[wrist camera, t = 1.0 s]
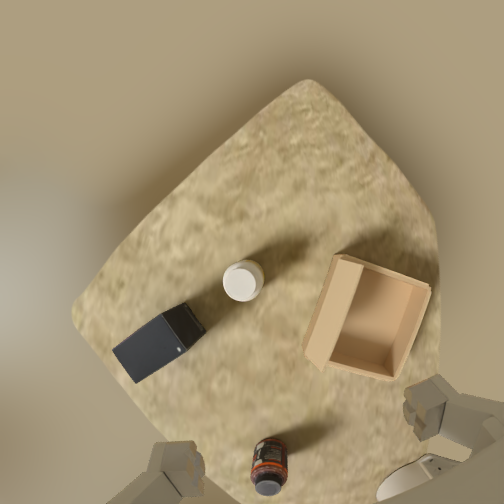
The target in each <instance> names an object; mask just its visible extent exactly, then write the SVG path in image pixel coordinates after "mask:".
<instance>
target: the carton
mask: <svg viewBox="0 0 504 504" xmlns="http://www.w3.org/2000/svg"><path fill="white" fill-rule="evenodd" d="M338 259H342V260H345V261H349V262H353V263H356V264H360V265H363V266H364V267H363V270H362V273H361V276H360V279H359V282H358V285H357V288H356V291H355V294H354V297H353V300H352V302H351V305H350V308H349V311H348V313H347V316H346V319H345V321H344V324H343V327H342V329H341V332H340V334H339V337H338V339H337V342H336V344H335V347H334V349H333V352H332V354H331V357H330V359H329V361H328V364H327V366H330V367H334V368H337V369H341V370H345V371H349V372H352V373H356V374H360V375H364V376H368V377H372V378H376V379H380V380H384V381H389V382H391V381H392V380H393V381H395V380H396V378H398V377H399V375H400V373H401V371H402V368H403V366H404V364H405V362H406V359H407V357H408V355H409V352H410V350H411V347H412V345H413V343H414V340H415V338H416V335H417V332H418V330H419V327H420V325H421V322H422V319H423V316H424V314H425V311H426V308H427V305H428V302H429V299H430V296H431V293H432V292H431V288H432V287H429V284H427V283H424V282H422V281H419V280H416V279H413V278H411V277H408V276H405V275H403V274H400V273H397V272H394V271H392V270H389V269H386V268H383V267H380V266H378V265H375V264H372V263H369V262H366V261H364V260H361V259H358V258H355V257H352V256H349V255H346V254H338V255H334V256H333V259H332V262H331V265H330V268H329V271H328V274H327V277H326V280H325V282H324V285H323V288H322V291H321V294H320V297H319V300H318V302H317V305H316V308H315V311H314V313H313V316H312V319H311V321H310V324H309V327H308V329H307V332H306V335H305V337H304V340H303V342H302V348H303V353H305V350H306V348H307V345H308V343H309V340H310V338H311V335H312V332H313V330H314V327H315V325H316V322H317V319H318V317H319V314H320V311H321V308H322V306H323V303H324V300H325V297H326V295H327V292H328V289H329V286H330V283H331V280H332V277H333V274H334V271H335V268H336V265H337V262H338ZM304 357H306V358H307V359H308V360H309V361H311V360H310V359H309V358H308V357H307V356H306V355H305V354H304Z"/></svg>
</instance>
